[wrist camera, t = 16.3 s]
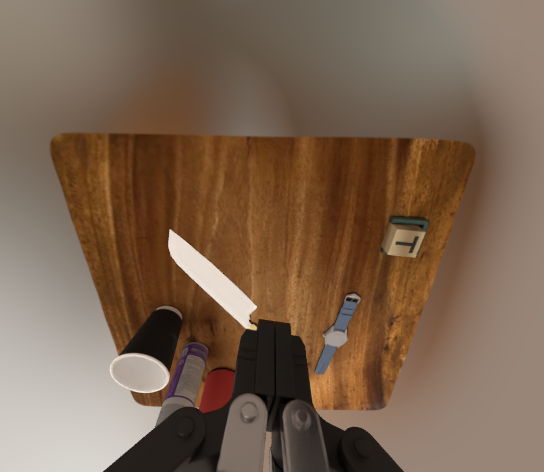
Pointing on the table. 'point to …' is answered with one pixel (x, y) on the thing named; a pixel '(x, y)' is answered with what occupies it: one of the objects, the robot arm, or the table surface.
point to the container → (185, 380)
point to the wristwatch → (336, 333)
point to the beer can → (217, 390)
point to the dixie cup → (149, 353)
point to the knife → (212, 280)
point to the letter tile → (402, 239)
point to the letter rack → (409, 220)
